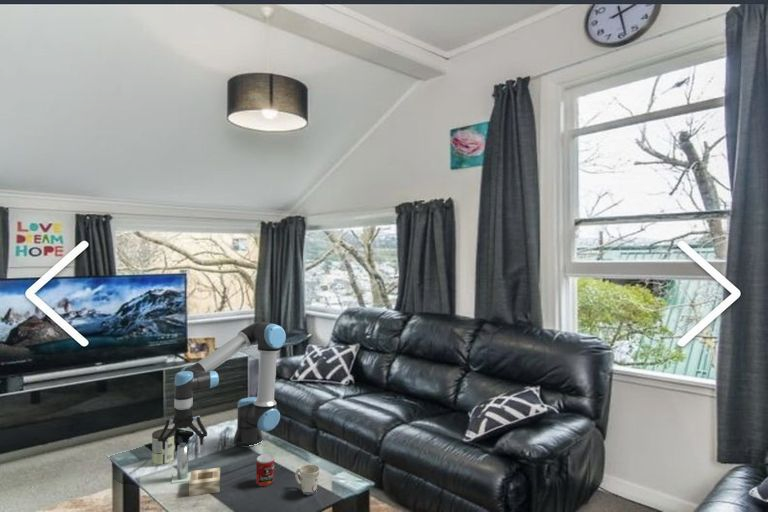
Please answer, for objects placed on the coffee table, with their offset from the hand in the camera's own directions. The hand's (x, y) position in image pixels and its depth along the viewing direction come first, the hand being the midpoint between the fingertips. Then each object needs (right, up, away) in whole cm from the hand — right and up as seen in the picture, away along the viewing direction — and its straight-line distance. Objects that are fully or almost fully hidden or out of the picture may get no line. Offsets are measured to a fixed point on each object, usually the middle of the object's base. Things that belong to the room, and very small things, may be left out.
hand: (182, 454), depth 210 cm
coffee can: (-16, -11, +16) cm, 25 cm away
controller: (-15, -10, +33) cm, 38 cm away
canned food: (+37, -12, -2) cm, 39 cm away
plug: (0, -10, 0) cm, 10 cm away
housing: (+13, -11, -7) cm, 18 cm away
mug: (+56, -13, -8) cm, 58 cm away
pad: (0, -11, 0) cm, 11 cm away
